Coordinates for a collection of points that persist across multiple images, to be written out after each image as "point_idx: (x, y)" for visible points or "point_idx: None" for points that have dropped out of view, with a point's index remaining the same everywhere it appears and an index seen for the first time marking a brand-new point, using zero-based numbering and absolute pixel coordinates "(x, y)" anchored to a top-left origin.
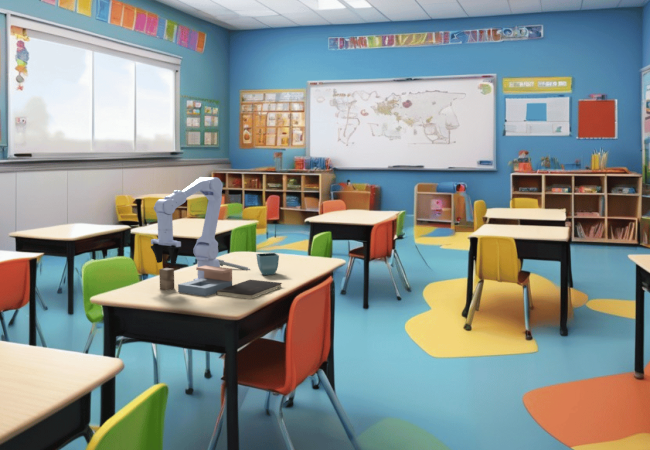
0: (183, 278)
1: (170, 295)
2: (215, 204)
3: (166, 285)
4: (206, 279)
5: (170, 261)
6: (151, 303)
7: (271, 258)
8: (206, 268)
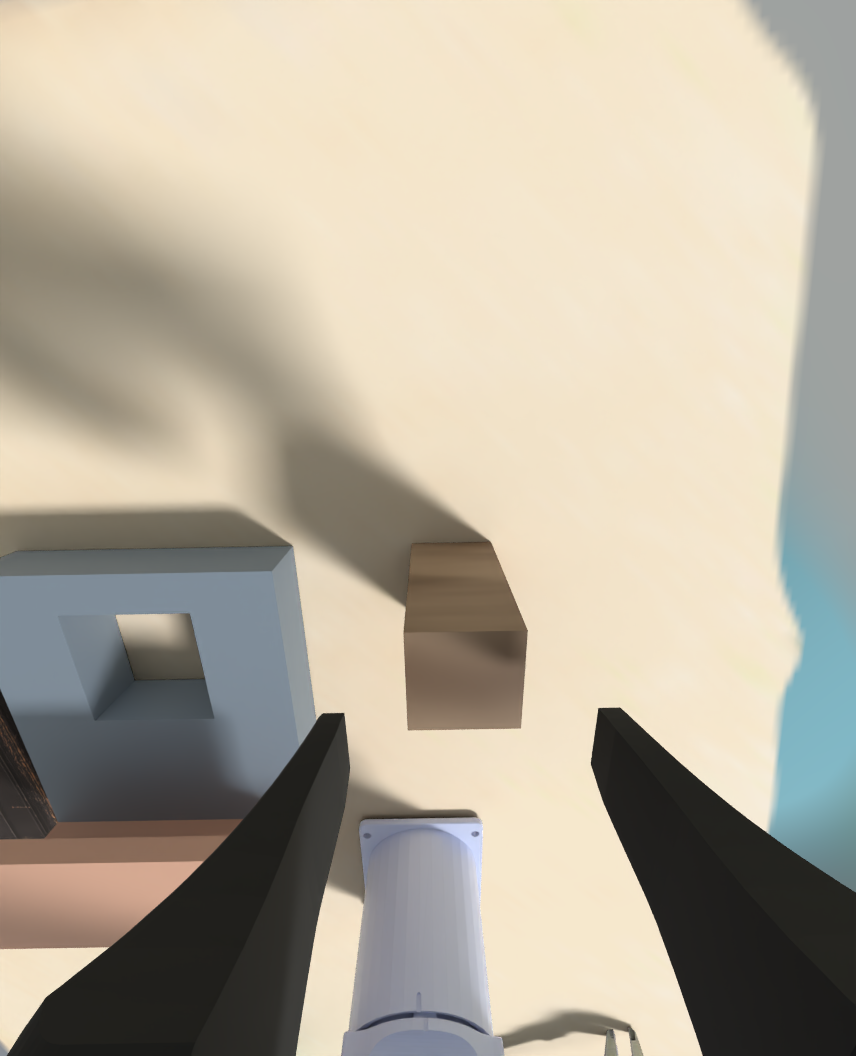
0: (584, 826)
1: (240, 426)
2: None
3: (416, 557)
4: (245, 789)
5: (331, 741)
6: (91, 68)
7: None
8: (145, 870)
